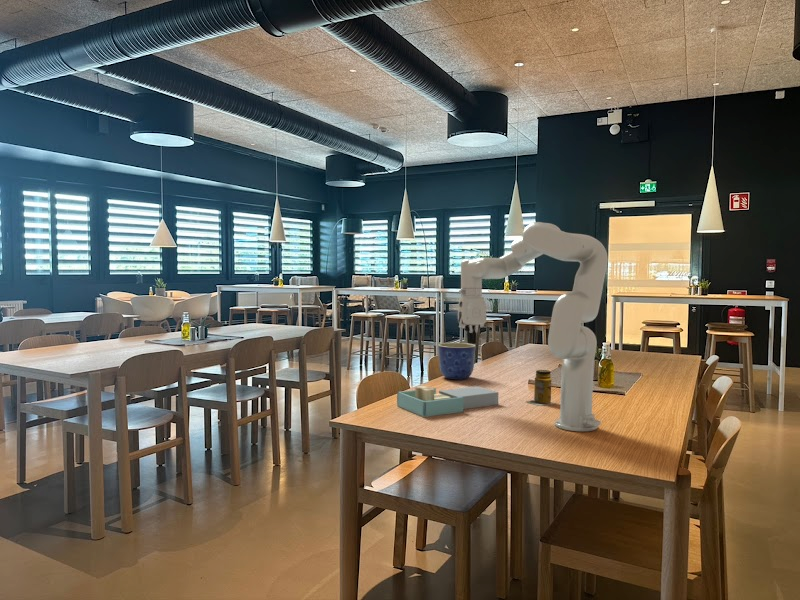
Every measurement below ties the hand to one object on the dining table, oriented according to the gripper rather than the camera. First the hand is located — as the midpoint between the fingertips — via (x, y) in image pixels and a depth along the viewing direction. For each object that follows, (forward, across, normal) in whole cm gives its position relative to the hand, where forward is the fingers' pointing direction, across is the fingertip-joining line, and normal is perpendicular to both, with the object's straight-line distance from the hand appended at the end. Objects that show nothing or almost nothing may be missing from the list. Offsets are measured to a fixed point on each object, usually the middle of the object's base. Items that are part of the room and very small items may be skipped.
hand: (471, 343), depth 206 cm
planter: (+21, +26, +45) cm, 56 cm away
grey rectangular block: (+22, -1, +1) cm, 22 cm away
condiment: (+23, +24, -10) cm, 35 cm away
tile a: (+22, -14, +2) cm, 26 cm away
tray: (+22, -18, +1) cm, 28 cm away
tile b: (+18, -18, +1) cm, 26 cm away
